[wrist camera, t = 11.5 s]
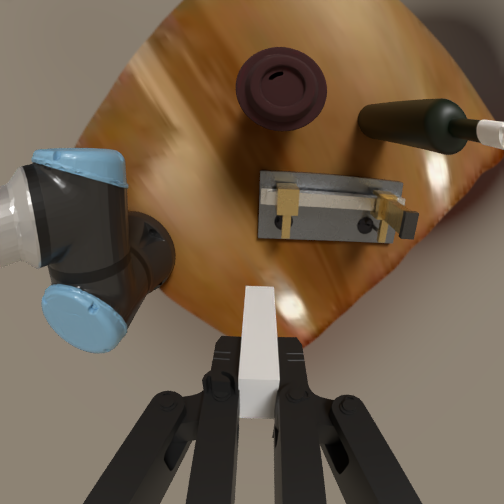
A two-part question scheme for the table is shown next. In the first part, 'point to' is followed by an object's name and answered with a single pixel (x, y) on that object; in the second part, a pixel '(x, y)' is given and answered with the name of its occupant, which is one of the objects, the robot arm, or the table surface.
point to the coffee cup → (281, 89)
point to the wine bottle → (428, 125)
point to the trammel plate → (322, 215)
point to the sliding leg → (393, 216)
